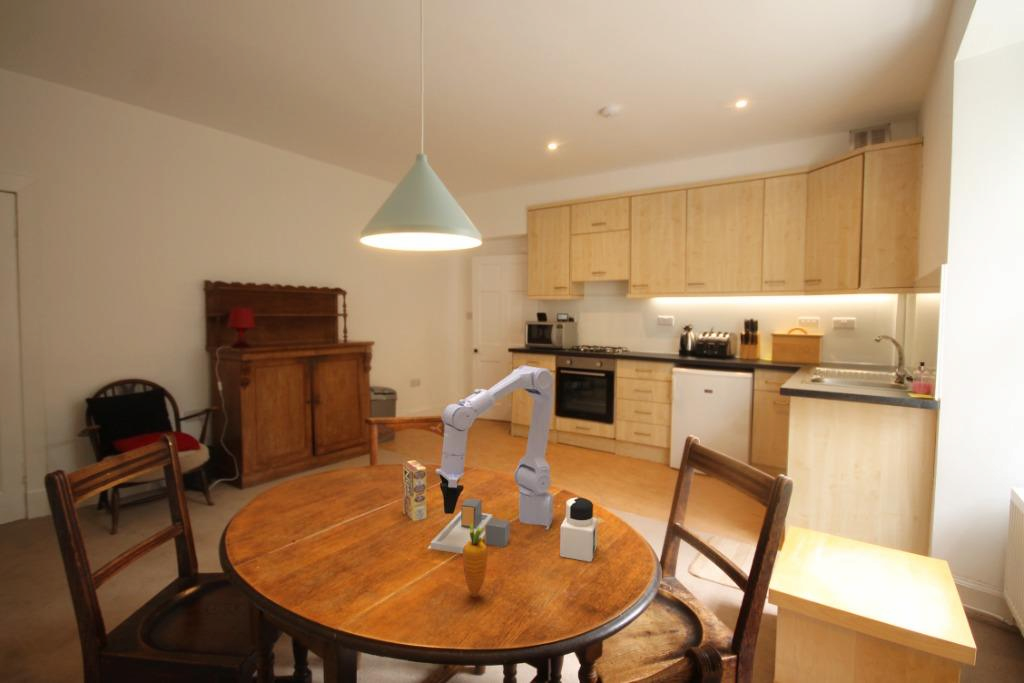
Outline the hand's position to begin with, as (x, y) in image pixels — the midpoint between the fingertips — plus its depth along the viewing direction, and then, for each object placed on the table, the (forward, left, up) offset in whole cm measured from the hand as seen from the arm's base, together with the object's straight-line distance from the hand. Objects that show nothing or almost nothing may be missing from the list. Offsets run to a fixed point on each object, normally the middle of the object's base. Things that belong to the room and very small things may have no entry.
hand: (448, 507), depth 116 cm
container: (-32, -8, -11) cm, 34 cm away
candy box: (+16, -14, -11) cm, 24 cm away
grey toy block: (-2, -12, -9) cm, 16 cm away
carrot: (-14, +17, -10) cm, 24 cm away
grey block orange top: (-12, -5, -10) cm, 16 cm away
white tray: (-2, -7, -10) cm, 12 cm away
